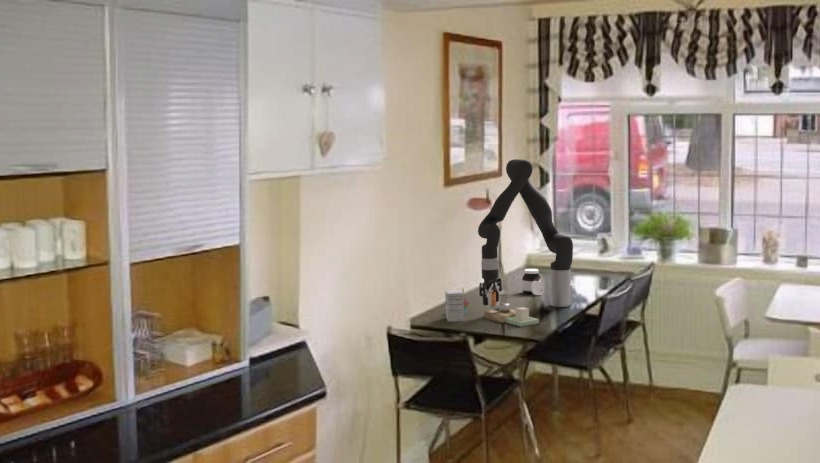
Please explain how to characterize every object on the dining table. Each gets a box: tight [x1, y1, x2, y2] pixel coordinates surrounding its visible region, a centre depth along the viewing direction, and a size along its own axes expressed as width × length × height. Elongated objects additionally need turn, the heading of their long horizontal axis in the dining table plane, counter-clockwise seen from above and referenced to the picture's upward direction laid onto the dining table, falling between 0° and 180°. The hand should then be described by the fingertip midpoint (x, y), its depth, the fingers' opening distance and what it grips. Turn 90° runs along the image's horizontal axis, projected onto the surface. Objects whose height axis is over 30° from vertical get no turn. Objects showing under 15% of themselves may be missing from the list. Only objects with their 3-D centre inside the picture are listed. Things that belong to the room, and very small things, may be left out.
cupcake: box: [461, 287, 470, 315], centre depth 444 cm, size 9×8×12 cm
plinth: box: [483, 307, 516, 324], centre depth 433 cm, size 13×13×3 cm
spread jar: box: [521, 268, 545, 296], centre depth 485 cm, size 12×11×12 cm
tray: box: [505, 316, 540, 328], centre depth 423 cm, size 10×10×2 cm
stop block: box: [515, 306, 530, 322], centre depth 423 cm, size 4×4×6 cm
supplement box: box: [444, 289, 465, 323], centre depth 432 cm, size 7×7×13 cm
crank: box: [490, 290, 512, 312], centre depth 436 cm, size 13×5×7 cm, turn 28°
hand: (491, 303), depth 438 cm, fingers open, 8 cm apart
